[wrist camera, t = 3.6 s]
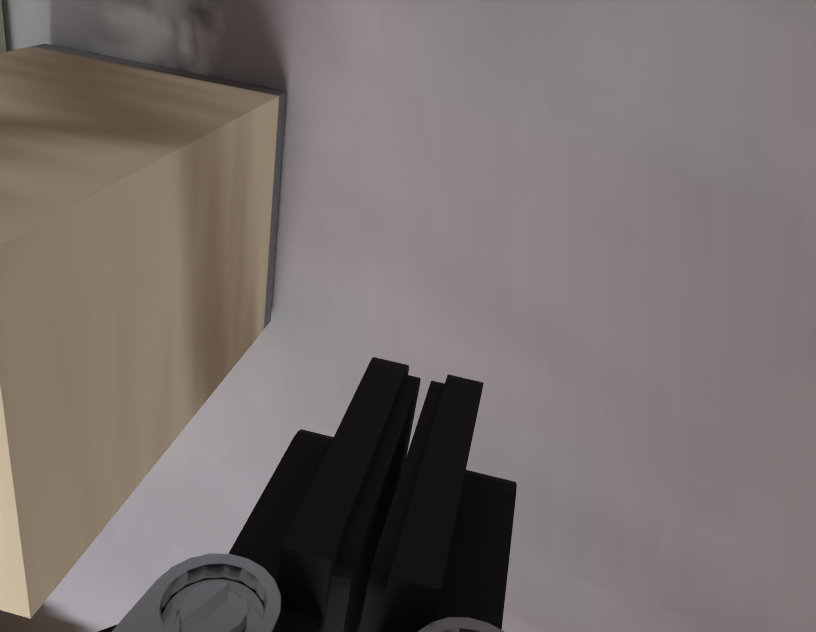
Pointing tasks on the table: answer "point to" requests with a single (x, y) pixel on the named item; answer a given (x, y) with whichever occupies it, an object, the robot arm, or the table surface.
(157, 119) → the maple block
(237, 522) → the table surface
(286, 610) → the robot arm
